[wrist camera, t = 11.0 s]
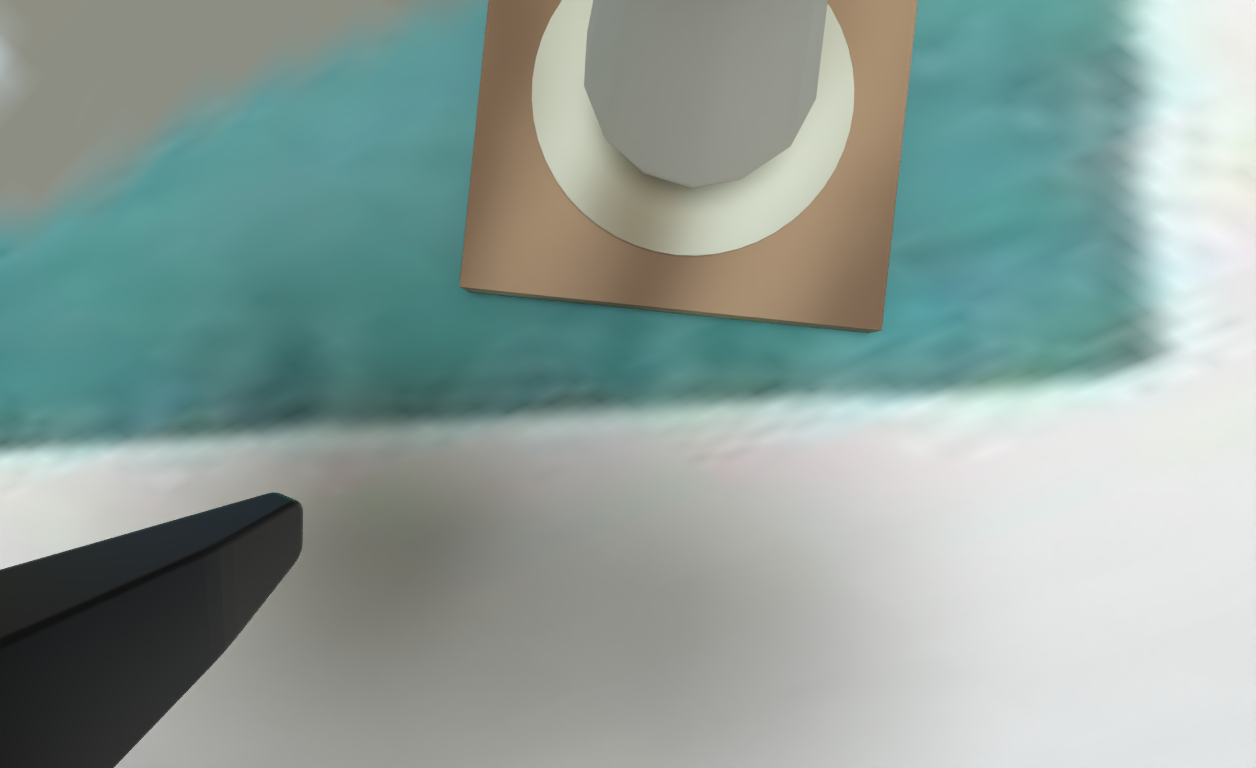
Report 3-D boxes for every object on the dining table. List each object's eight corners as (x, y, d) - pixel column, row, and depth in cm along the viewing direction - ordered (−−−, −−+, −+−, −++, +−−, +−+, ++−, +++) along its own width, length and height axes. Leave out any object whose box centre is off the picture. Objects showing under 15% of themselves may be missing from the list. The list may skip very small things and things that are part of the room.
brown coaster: (469, 291, 22) (457, 285, 20) (510, -109, 22) (501, -143, 20) (868, 332, 22) (884, 329, 20) (912, -71, 21) (931, -102, 20)
